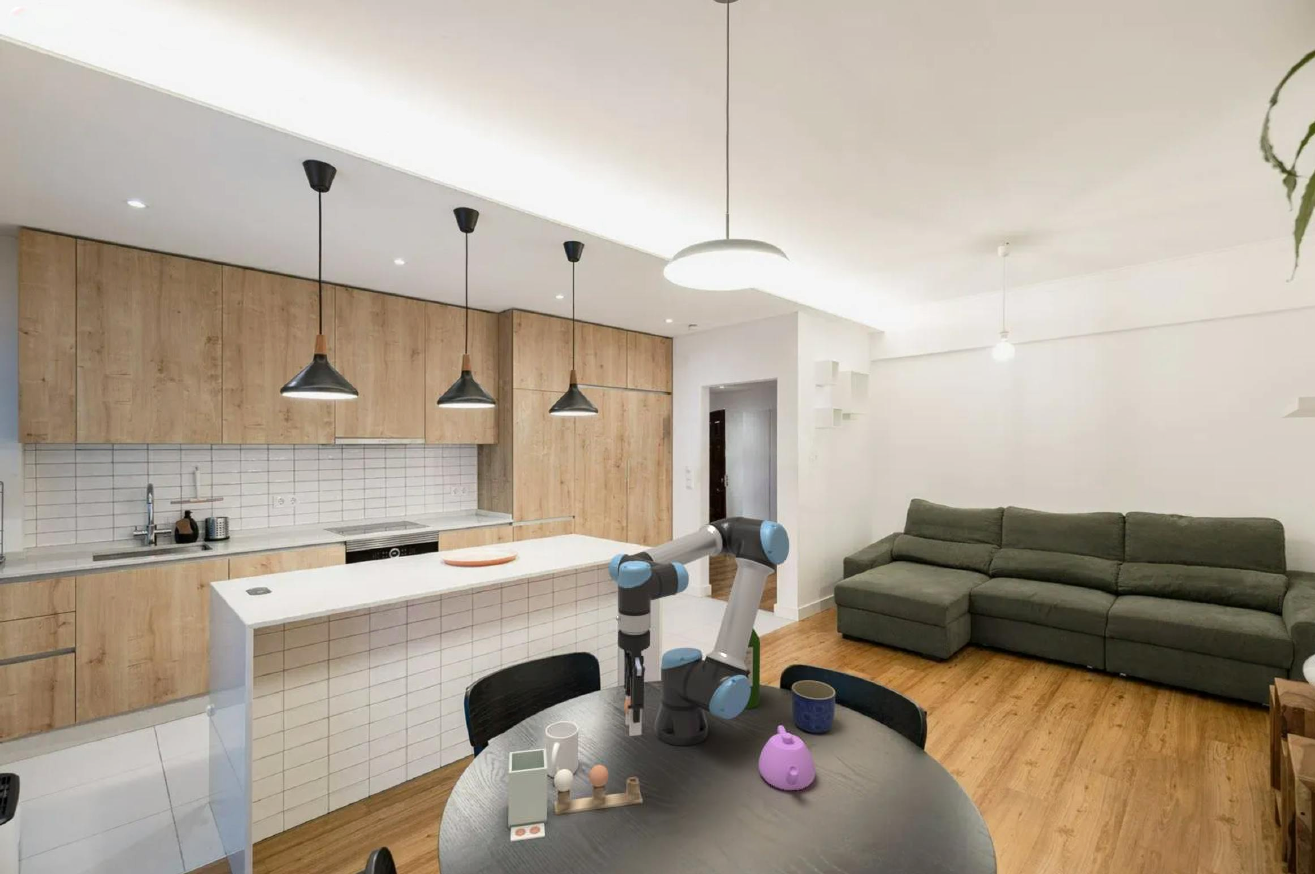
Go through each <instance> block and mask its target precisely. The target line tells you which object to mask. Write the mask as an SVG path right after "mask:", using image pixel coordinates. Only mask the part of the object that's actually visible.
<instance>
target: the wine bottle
mask: <svg viewBox="0 0 1315 874" xmlns="http://www.w3.org/2000/svg"><path fill="white" fill-rule="evenodd" d="M744 664H745V666H746V668H747V673H746V677H747V679H748V680H749V681H750V685H751V686H750V688H751V693H750V697H749V700H748V703H747V705H746V706H745V708H744V709H747V710H749V709H755V708H757V707H758V706H759V705H760V696H761V695H760V694H761V693H760V690H761V689H760V688H761V687H760V686H761V683H760V681H761V680H760V679H761V677H760V675H761V674H760V673H761V641H760V637H759V636H758V634H757V632H756V630H755V628H754V627H753V630H752V633H751V637H750V640H749V644H748V648H747V651H746V655H745V658H744ZM744 709H743V710H744Z"/></svg>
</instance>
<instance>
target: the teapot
mask: <svg viewBox="0 0 1315 874" xmlns="http://www.w3.org/2000/svg"><path fill="white" fill-rule="evenodd" d="M776 730H777V731H776V732H777V734H774V735H773V736H771V737H770V738H769V739H768V740H767V742H766V744H765V745H764V747H763V748H762V750H761V752H760V755H759V758H758V759H759V760H758V770H759V771H758V772H759V773H760V775H761V777H762V778H763V779H764V780H765V781H766V782H767V783H768V784H769V785H770V784H771V785H770V786H772V785H773V786H772V787H774V786H775V787H774V788H776V787H777V788H776V789H778V788H780V789H779V790H782V789H784V790H783V791H787V790H797V791H800V790H799V789H801V790H804V789H806V788H807V787H808V786H810V785H811V783H813V781H814V779H815V777H816V769H815V768H816V766H815V763H814V759H813V757H812V755H811V752H810V750H809V749H808V747H807V745H806V744H805V742H804V741H803V740H802V739H801V738H800V737H799V736H797V735H794V734H791V733H789V732H786V731H787V730H786V729H785V726H784V725H778V726H777V729H776ZM805 787H806V788H805ZM803 788H804V789H803Z"/></svg>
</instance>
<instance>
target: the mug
mask: <svg viewBox="0 0 1315 874" xmlns="http://www.w3.org/2000/svg"><path fill="white" fill-rule="evenodd" d="M544 732H545V733H544V734H545V736H544V745H545V746H544V747H545V748H546V757H547V776H549V777H551V778H555V775H556V774H557V772H558V771H560V770H562V769H567V770H569V771H570V772H571V773H572V774H573V775H574V774H575V773H576V772H577V770H578V767H579V726H578V725H577V724H576V723H574V722H573V721H564V720H562V721H557V722H554V723H551V724H549V725H548V726H547V727H546V728H545V730H544ZM545 748H544V749H545Z"/></svg>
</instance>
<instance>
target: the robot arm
mask: <svg viewBox="0 0 1315 874" xmlns="http://www.w3.org/2000/svg"><path fill="white" fill-rule="evenodd" d="M789 553H790V539H789V535H788V532H787V530H786V528H785V527H784V526H783V525H782V524H781V523H779V522H776V521H775V522H774V521H771V520H768V519H767V520H766V519H764V520H763V519H758V518H757V519H755V518H749V517H745V516H744V517H743V516H732V517H725V518H722V519H718V520H716V521H712V522H709V523H706V524H704V525H702V526H701V527H700V528H699V529H698V530H697V531H694V532H692V533H688V534H686V535H684V536H681V537H677V538H676V539H673V540H670V541H667V542H664V543H662V544H660V545H656V546H654V547H651V548H648V549H646V550H643V551H640V552H637V553H634V554H631V555H630V554H628V553H617V554H616V555H614V556H613V557H612V559H611V560H610V562H609V565H608V574H609V577H610V578H611V580H613V581H614V582H616V583H617V588H618V589H617V593H618V594H617V595H618V597H617V598H618V601H617V602H618V603H617V604H618V605H617V606H618V607H617V609H618V611H617V612H618V615H617V616H615V620H616V621H618V624H617V625H618V629H619V630H618V631H617V645H618V648H619V649H621V650H623V653H624V655H623V657H624V658H623V662H624V663H623V664H624V666H623V668H624V669H623V673H624V674H623V675H624V676H623V678H624V679H623V680H624V681H623V682H624V683H623V689H624V690H625V691H624V694H625V695H626V696H625V700H626V699H627V698H629V697H630V698H631V705H628V709H629V715H627V714H626V713H625V725H626V726H629V727H628V731H629V733H628V734H629V737H633V736H642V723H643V722H642V721H643V719H642V717H643V715H642V713H643V709H645V699H644V698H645V672H646V667H645V665H644V663H645V657H644V655H642V652H643V651H644V650H647V649H648V648H649V647H650V646H651V630H650V629H651V626H652V625H651V619H652V618H651V617H652V616H651V615H652V613H651V611H652V610H651V605H652V604H651V602H652V601H655V600H659V599H661V598H666V597H670V596H676V595H677V594H680V593H682V592H684V591H685V590H686V589H687V588H688V587H689V583H690V581H689V580H690V578H689V577H690V575H689V572H688V570H687V568H686V567H685V565H688V564H691V563H692V562H695V561H697V560H700V559H702V558H705V557H707V556H709V557H717V556H719V555H731V556H735V557H734V560H735V561H734V562H735V563H736V564H737V569H736V572H735V573H736V574H735V576H734V580H733V583H732V587H731V589H730V593H729V597H728V600H727V604H726V607H725V610H724V613H723V616H722V617H723V618H722V620H721V625H720V627H719V630H718V634H717V637H716V641H715V644H714V648H713V650H712V651H711V652H709V653H706V656H705V657H704V656H703V652H702V651H701V649H698V648H695V647H677V648H672V649H670V650H668V651H666V652H664V653H663V654H662V657H661V664H660V665H661V666H660V706H659V709H658V712H657V714H656V718H655V720H654V734H655V736H656V737H657V738H658V739H659V740H661V741H662V742H664V743H666V744H670V745H674V746H690V745H691V746H692V745H695V744H698V743H701V742H702V741H704V740H705V739H706V738H707V736H708V722H707V718H706V716H705V715H706V714H705V712H704V710H705V711H706V712H709V713H710V714H712V715H713V716H716V717H719V718H722V719H724V720H725V719H726V720H730V719H733V718H736V717H738V715H739V714H741V713H742V712H743V710H744V708H745V706H746V705H747V703H748V700H749V697H750V693H751V688H750V686H751V685H750V681H749V680H748V679H747V677H746V673H747V668H746V666H745V664H744V658H745V655H746V651H747V648H748V644H749V640H750V637H751V633H752V630H753V628H754V625H755V622H756V618H757V615H758V611H759V609H760V605H761V601H762V597H763V593H764V589H765V585H766V582H767V579H768V576H770V575H771V574H774V573H775V570H776V567H777V566H779V565H782V564H784V563H785V561H786V560H787V558H788V557H789ZM703 657H704V658H705V659H703Z"/></svg>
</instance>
